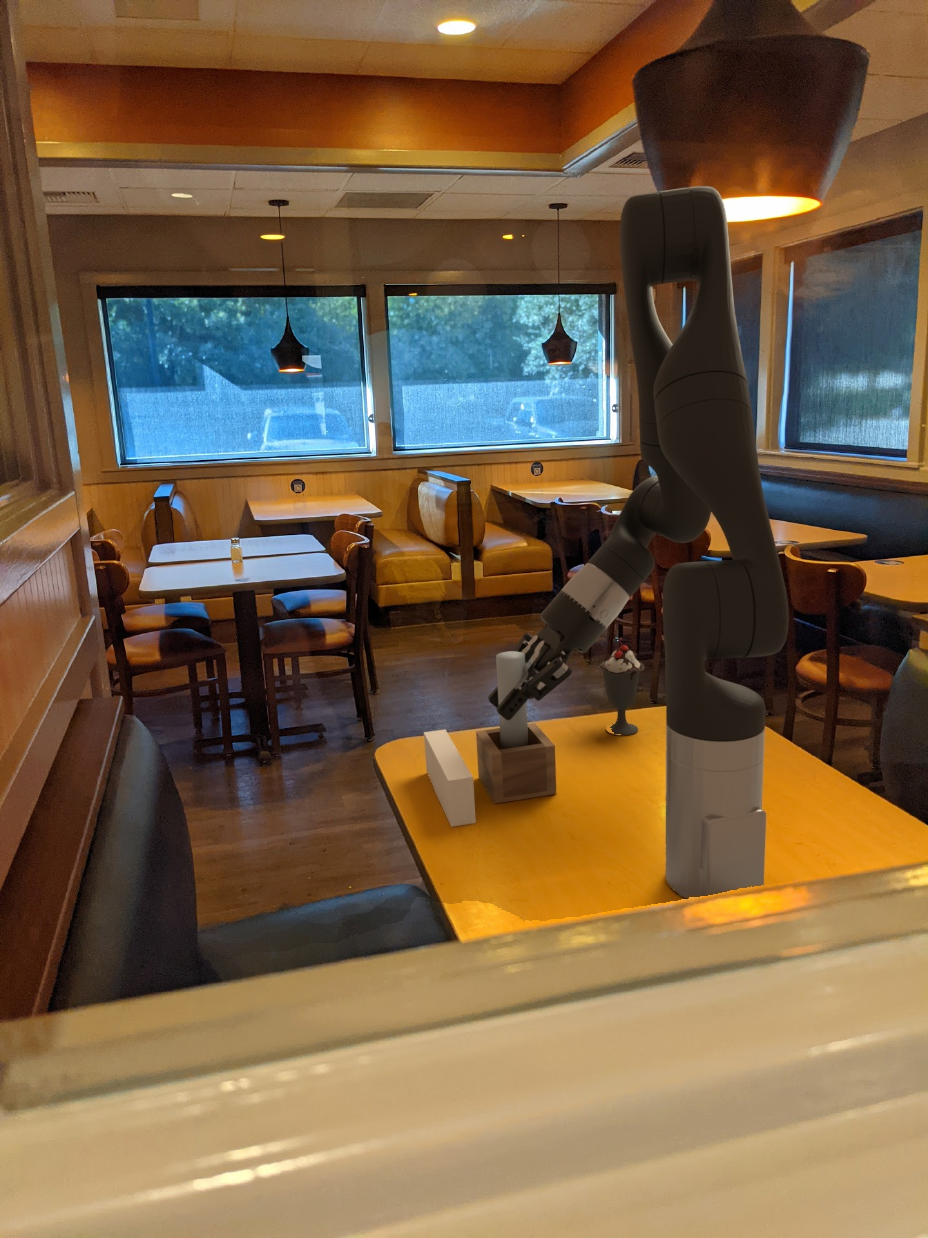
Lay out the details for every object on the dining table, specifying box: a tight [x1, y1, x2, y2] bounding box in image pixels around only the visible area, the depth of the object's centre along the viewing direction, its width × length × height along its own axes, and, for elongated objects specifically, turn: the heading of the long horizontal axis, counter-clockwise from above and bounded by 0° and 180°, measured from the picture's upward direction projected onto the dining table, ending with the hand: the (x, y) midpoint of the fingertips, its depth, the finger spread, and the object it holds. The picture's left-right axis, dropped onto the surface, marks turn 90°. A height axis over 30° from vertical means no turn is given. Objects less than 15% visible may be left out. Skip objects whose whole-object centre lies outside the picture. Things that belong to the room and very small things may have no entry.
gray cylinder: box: [495, 650, 529, 749], centre depth 106 cm, size 4×4×12 cm
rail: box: [423, 729, 477, 828], centre depth 106 cm, size 16×3×6 cm, turn 13°
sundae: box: [598, 637, 645, 737], centre depth 124 cm, size 7×7×15 cm
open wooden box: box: [475, 722, 557, 804], centre depth 108 cm, size 8×8×7 cm
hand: (497, 709), depth 106 cm, fingers closed on gray cylinder, 3 cm apart
